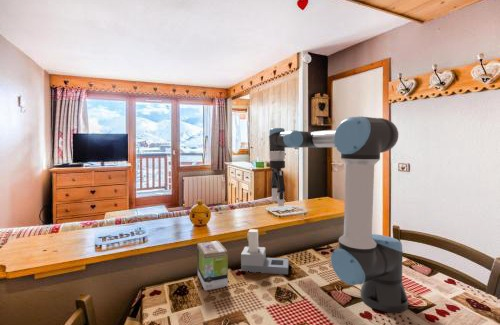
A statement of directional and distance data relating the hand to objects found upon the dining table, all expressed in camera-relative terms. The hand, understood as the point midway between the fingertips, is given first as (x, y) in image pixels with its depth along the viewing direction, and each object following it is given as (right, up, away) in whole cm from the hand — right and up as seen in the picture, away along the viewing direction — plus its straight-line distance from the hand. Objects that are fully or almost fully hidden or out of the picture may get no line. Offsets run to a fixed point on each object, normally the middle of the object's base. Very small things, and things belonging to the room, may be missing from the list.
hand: (277, 203), depth 130 cm
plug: (-12, -24, -6) cm, 27 cm away
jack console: (-6, -29, -7) cm, 31 cm away
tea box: (-30, -30, -18) cm, 46 cm away
